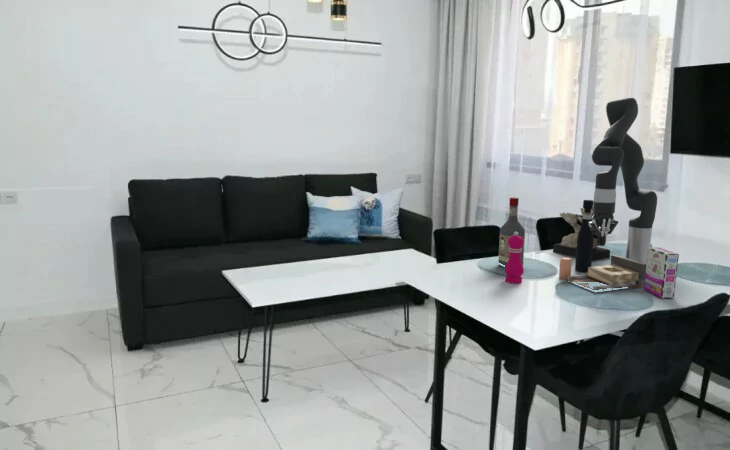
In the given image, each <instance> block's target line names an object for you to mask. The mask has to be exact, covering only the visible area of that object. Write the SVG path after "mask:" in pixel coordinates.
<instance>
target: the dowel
mask: <svg viewBox="0 0 730 450" xmlns="http://www.w3.org/2000/svg"><path fill="white" fill-rule="evenodd" d="M572 263H573V259H572V258H570V257H560V260H559V270H558V271H559V273H558V274H559V275H558V279H560V280H565V281H566V279H568V276H572V267H573V266H572V265H573V264H572Z"/></svg>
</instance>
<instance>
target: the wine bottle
mask: <svg viewBox="0 0 730 450" xmlns="http://www.w3.org/2000/svg"><path fill="white" fill-rule="evenodd" d="M593 203H594V199H593V200H592V199H584V200H583V202H582V208H584V209H585V210H584V213H585V214H583V216H582V218H583V219H582V223H581V225H580V227H581V228H580V230H579V233H578V237H577V249H576V257H575V265H574V271H576V272H578V273H585V274H588V267H593V266H592V265H593V261H592V254H593V242H594V238H595V237H594V236H595V234H593V232H592V231H591V229H590V228H589V226H588V224H587V223H588V222H591V221H592V219H591V209H593Z"/></svg>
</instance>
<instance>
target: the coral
mask: <svg viewBox="0 0 730 450" xmlns="http://www.w3.org/2000/svg"><path fill="white" fill-rule="evenodd" d="M579 209H580V212H581V215H582V216H578V214H577V213H571V212H566V213H565V212H560V213H559V214H558V215H559V216H560V217H562V219H564V221H565V222H567V224H569V225H570V226H571V227H573V229H574V233H573V232H572V233H570V234H568V235H564V236H563V237H562V239H561V240H562V241H561V242H560V243H555V244H553V247H552V248H553V249H552V250H553V251H552V252H553V253H557V254H561V255H565V256H568V257H573V258H576V249H577V237H578V233H579V230H580V228H581V225H579V224H578V221H579V222H580V223H581V224H582V219H583V214H585V213H584V210H585V209H584V208H583V207H580V208H579ZM593 216H594V212H593V209H591V219H592V220H593ZM604 259H611V250H610V249H607V248H603V247H601V246H600V247H599V245H598V244H597V237H594V242H593V254H592V262H593V261H599V260H604Z"/></svg>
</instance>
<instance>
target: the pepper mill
mask: <svg viewBox="0 0 730 450" xmlns="http://www.w3.org/2000/svg"><path fill="white" fill-rule="evenodd" d="M523 244H524V245H525V243H524V241H523V238H522V237H520V236H518V232H514V235H513V236H511V237H509V239H508V245H509V246H510V247H509V251H510V255H509V260H508V262H507V264H506V266H505V268H504V273H505V274H506V276H505V278H504V279H505V283H509V284H521V283H522V282H523V275H524V269H525V268H524V264H523V265H522V262H521V258H520V254H521V252H522V248H521V247H522V246H523Z"/></svg>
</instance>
